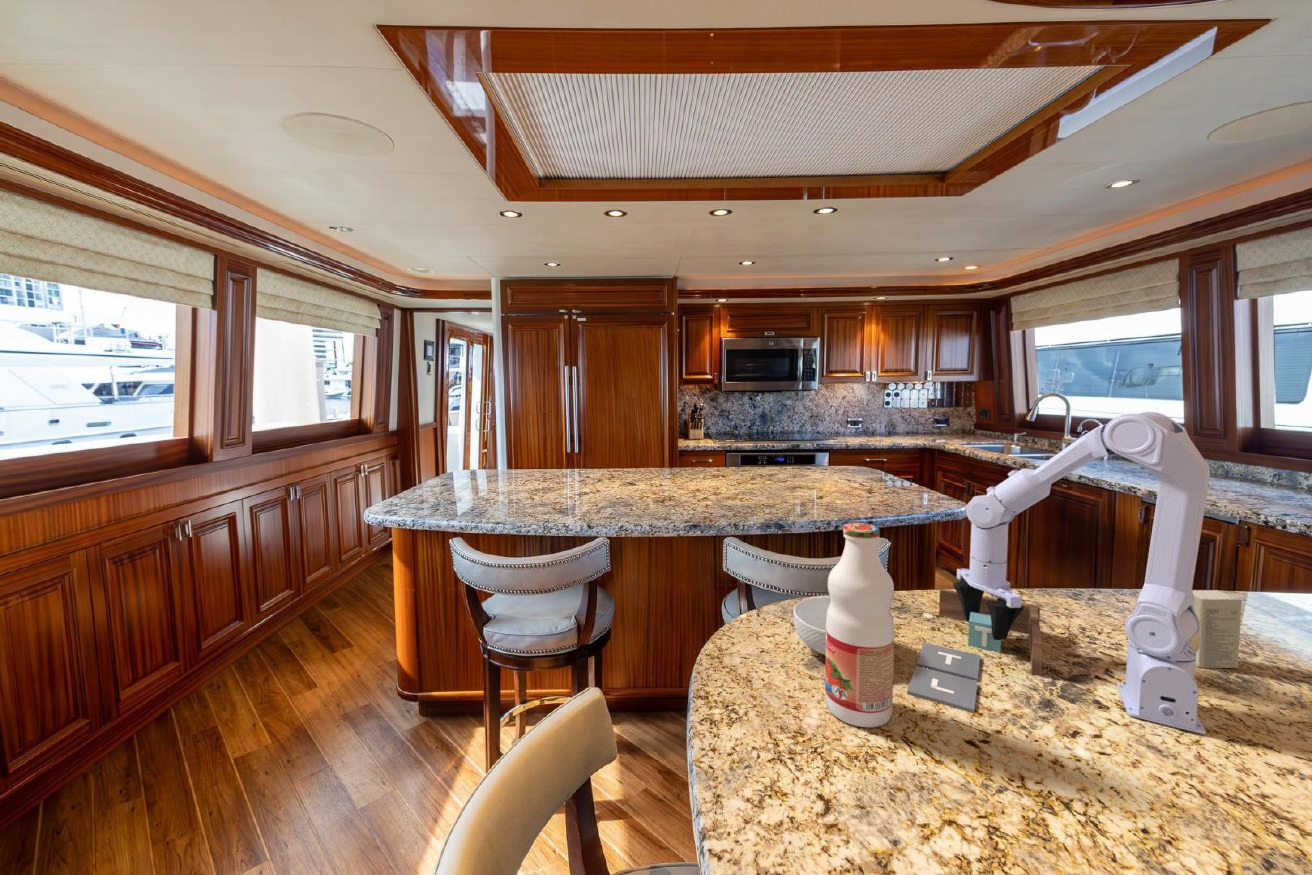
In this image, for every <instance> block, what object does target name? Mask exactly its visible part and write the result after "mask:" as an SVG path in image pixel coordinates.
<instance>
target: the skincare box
mask: <svg viewBox="0 0 1312 875" xmlns="http://www.w3.org/2000/svg"><path fill="white" fill-rule="evenodd" d="M1192 592H1193V594H1194V597H1195V601H1194V610H1195V612H1196V614H1197V616H1198V618H1199V621H1200V630H1199V632H1198V633H1197V634H1196V636H1194V637H1192V638H1191V639H1190V640H1189V643H1191V645H1192V647H1193V648H1194V651H1195V652H1196V665H1195V667H1197V668H1201V669H1202V668H1203V669H1205V668H1206V669H1208V668H1209V669H1210V668H1211V669H1238V668H1239V655H1240V654H1239V651H1240V648H1239V647H1240V637H1241V636H1240V635H1241V634H1240V632H1241V619H1242V618H1241V614H1242V599H1241V598H1239V597H1236V596H1233V595H1232V594H1228V593H1226V592H1223V591H1220V590H1217V589H1213V590H1212V589H1210V590H1209V589H1192Z"/></svg>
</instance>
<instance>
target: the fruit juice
mask: <svg viewBox="0 0 1312 875" xmlns="http://www.w3.org/2000/svg"><path fill="white" fill-rule="evenodd" d="M842 532H843V538H845V543H844V549H843V551H842V554H841V557H840V560H839V561H838V562H837V563H836V565H834V566H833V567H832V569H831V570H830V572H829V574H828V577H827V589H828V595H829V596H830V599H831V602H830V605H829V607H828V610H827V616H826V655H825V664H824V665H825V673H824V680H825V682H824V684H825V685H824V699H825V704H826V708H827V709H828V711H829V712H830V713H831V715H832V716H834V717H836V718H837V719H838V720H840V721H842V722H844V723H847V724H849V725H851V726H855V727H858V728H859V727H861V728H868V729H869V728H878V727H881V726H884V725H885V724H888V723H889V720H890V719H891V717H892V714H893V698H894V697H893V696H894V695H893V691H894V650H895V621H894V617H893V614H892V612H891V605H892V603H893V600H894V595H895V589H894V588H895V585H894V581H893V579H892V577H891V575H890V574H889V572H888V571H887V570H886V569H885V567H884V566H883V564H882V561H881V558H880V554H879V552H878V545H877V544H878V541H879V539H880V527H878V526H877V525H874V524H871V523H870V524H869V523H865V522H864V523H863V522H850V523H849V522H848V523H846V524H844V525H843V528H842Z"/></svg>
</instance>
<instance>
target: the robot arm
mask: <svg viewBox="0 0 1312 875" xmlns="http://www.w3.org/2000/svg"><path fill="white" fill-rule="evenodd" d="M1116 455H1118V456H1121V457H1123V458H1125V459H1128V460H1129V461H1130V460H1131V461H1132V462H1135V463H1137V464H1139V465H1140V466H1142V467H1143V469H1145V470H1147V471H1148V472H1149V473H1150V474H1152V476H1154V477H1155V478H1156V479H1157V480H1158V482H1159V483H1158V488H1157V496H1156V503H1155V511H1154V517H1153V523H1152V530H1151V531H1152V532H1151V534H1150V535H1151V536H1150V543H1149V544H1150V545H1149V552H1148V557H1147V563H1146V570H1145V577H1144V584H1143V586H1142V589H1141V591H1140V594H1139V596H1138V598H1137V602H1136V606H1135V609H1134V611H1133V612H1132V613H1131V614H1130V615H1129V616H1127V618H1126V619H1125V622H1124V631H1125V634H1126V637H1127V650H1126V651H1127V652H1126V669H1125V680H1124V681H1125V683H1121V682H1120V683H1117V689H1118V693H1119V694H1120V698H1121V700H1122V702H1123V705H1124V708H1125V710H1126V713H1127V715H1128V716H1130V717H1133V718H1137V719H1140V720H1145V721H1150V722H1152V723H1157V724H1161V725H1164V726H1170V727H1173V728H1177V729H1180V730H1185V731H1188V732H1192V733H1196V734H1200V735H1206V734H1207V731H1206V729H1205V727H1204V725H1203V723H1202V721H1201V720H1200V718H1199V716H1198V705H1199V695H1200V694H1199V686H1198V683H1197V682H1196V680H1195V679H1196V678H1195V677H1196V652H1195V651H1194V648H1193V647H1192V645H1191V643H1189V640H1190V639H1191V638H1192V637H1194V636H1196V634H1197V633H1198V632H1199V630H1200V621H1199V618H1198V616H1197V614H1196V612H1195V610H1194V601H1195V597H1194V594H1193V592H1192V590H1193V585H1194V579H1195V578H1194V577H1195V572H1196V565H1197V560H1198V553H1199V547H1200V541H1201V533H1202V528H1203V523H1204V515H1205V508H1206V502H1207V497H1208V490H1209V485H1210V477H1211V469H1210V466H1209V465H1208V462H1207V461H1206V460H1205V458H1204V457H1203V456H1202V454H1201V453H1200V451H1199V449H1198V448H1197V447H1196V446H1195V444H1194V442H1193V441H1192V440H1191V438H1190V436H1189V435H1188V432H1187V429H1186V427H1185V426H1183V425H1181V424H1180V423H1179V422H1176V421H1175V420H1174V419H1173V418H1171V417H1169V416H1167V415H1165V414H1164V413H1160V412H1156V411H1146V412H1145V411H1144V412H1140V413H1123V414H1121V415H1118V416H1116V417H1114V418H1113V419H1111V420H1110V421H1109V422H1108V423H1107V424H1105V423H1104V424H1102V425H1099V426H1097V427H1095V428H1093V429H1091V430H1090V431H1089V432H1087V433H1085V434H1084V435H1082V436H1080V437H1079V438H1077V440H1075V441H1074V442H1072V443H1071V444H1069V445H1068V446H1067V447H1065V448H1064V449H1062V450H1061V451H1060V452H1058V453H1057V454H1055V455H1054V456H1053V457H1051V458H1050V459H1048V460H1047V461H1046V462H1044V463H1042V464H1041V465H1040V466H1039V467H1037V468H1035V469H1031V468H1022V469H1020V470H1018V469H1013V470H1011V471H1010V472H1008V473H1007V476H1008V478H1006V479H1005V480H1004V481H1002V482H1000V483H998V485H995V486H993V485H992V486H989V487H988V488H987V489H986V494H985V495H982V494H981V495H977V496H973V497H972V499H971V500H970V501H968V503H967V505H966V508H965V511H966V512H965V513H966V516H967V518H968V520H969V521H970V523H971V526H970V530H971V531H970V549H969V550H970V551H969V568H957V569H956V579H957V580H959V581H957V582H953V585H952V586H953V589H955V590H954V591H955V592H957V593H958V596H959V598H960V601H961V605H962V609H963V613H964V617H965V620H966V621H965V622H967V621H969V619H970V612H976V613H979V611H980V603H981V599H982V596H983V595H984V593H987V594H988V595H990V596H992V597H994V598H995V599H997V601H986V604H987V607H988V609H989V612H990V616H991V625H992V636H993V639H995V640H1001V641H1006V640H1007V638H1008V636H1009V633H1010V631H1011V630H1010V628H1011V626H1012V624H1013V622H1014V620H1015V619H1016V618H1017V616H1018V615H1019V614H1020V613H1021V612H1022V611H1023V608H1024V606H1023V605H1021V603H1022V601H1023V600H1022V599H1023V597H1022V596H1021V595H1019V594H1018V593H1016V592H1015V591H1014V590H1013V589H1012V588H1011V582H1009V581H1008V580H1007V565H1008V564H1007V560H1008V543H1009V542H1008V540H1009V539H1008V533H1009V523H1010V522H1012V521H1013V519H1014V518H1015V516H1017V515H1019V514H1020V513H1022V512H1023V511H1026V510H1027V509H1028V508H1030V507H1031V506H1034V505H1035V504H1037V503H1038V502H1040V501H1041V500H1043V499H1045V498H1046V497H1048V496H1049V495H1050V493H1051V486H1052V484H1054V483H1055V482H1057V481H1059V480H1060V479H1062V478H1064V477H1065V476H1067V475H1069V474H1071V473H1073V472H1074V471H1076V470H1078V469H1080V468H1081V467H1083V466H1085V465H1087V464H1088V463H1090V462H1092V461H1093V460H1095V459H1097V458H1105V457H1111V456H1116ZM983 597H984V596H983Z"/></svg>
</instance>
